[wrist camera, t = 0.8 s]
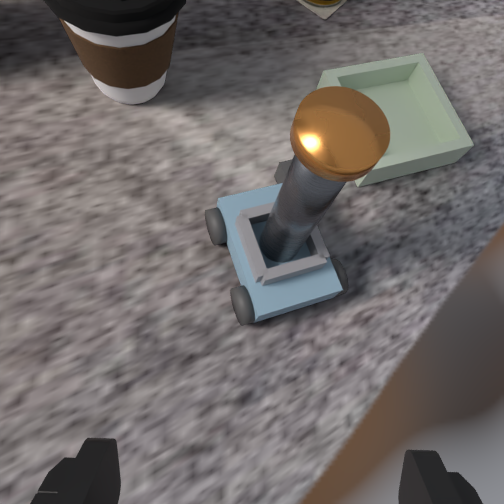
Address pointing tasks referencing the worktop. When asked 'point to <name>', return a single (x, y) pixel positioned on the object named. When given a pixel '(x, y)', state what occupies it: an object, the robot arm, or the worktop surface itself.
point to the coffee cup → (122, 43)
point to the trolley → (265, 270)
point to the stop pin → (323, 163)
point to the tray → (406, 114)
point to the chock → (282, 171)
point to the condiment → (322, 6)
